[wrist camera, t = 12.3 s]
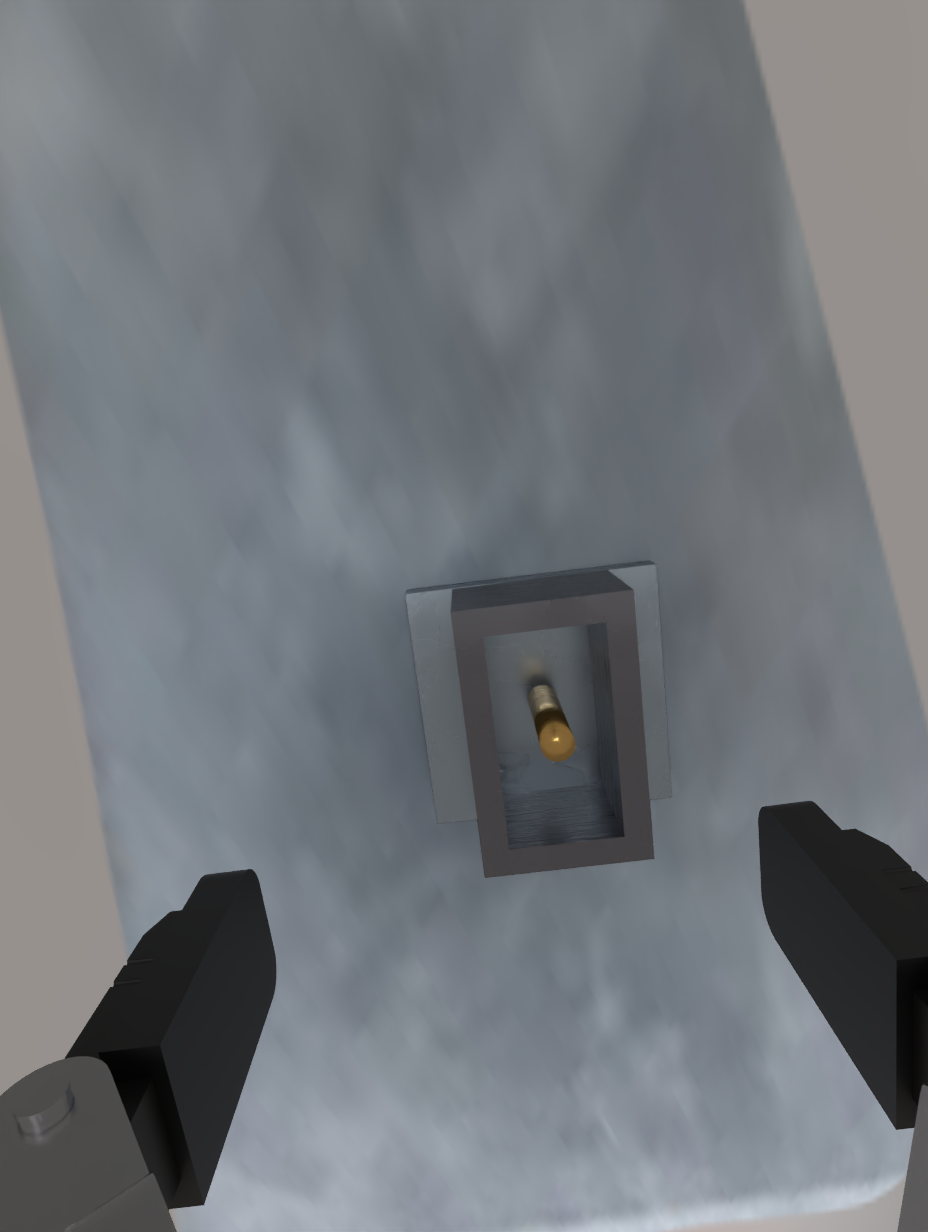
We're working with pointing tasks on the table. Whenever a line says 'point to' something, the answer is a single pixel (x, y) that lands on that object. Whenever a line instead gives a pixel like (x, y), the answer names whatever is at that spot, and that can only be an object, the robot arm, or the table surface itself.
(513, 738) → the peg plate
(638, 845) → the grey storage bin
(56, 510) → the table surface
